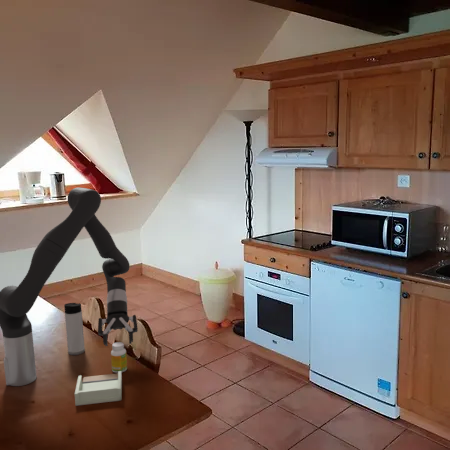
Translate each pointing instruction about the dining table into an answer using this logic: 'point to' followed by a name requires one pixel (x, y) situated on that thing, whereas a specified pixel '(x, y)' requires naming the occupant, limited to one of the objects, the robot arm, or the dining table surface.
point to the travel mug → (74, 328)
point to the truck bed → (98, 389)
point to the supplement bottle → (118, 357)
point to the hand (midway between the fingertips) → (118, 344)
